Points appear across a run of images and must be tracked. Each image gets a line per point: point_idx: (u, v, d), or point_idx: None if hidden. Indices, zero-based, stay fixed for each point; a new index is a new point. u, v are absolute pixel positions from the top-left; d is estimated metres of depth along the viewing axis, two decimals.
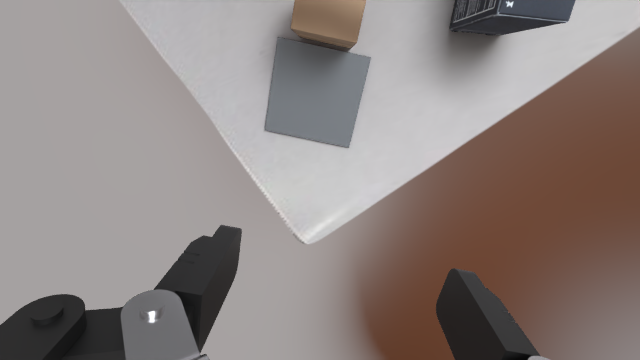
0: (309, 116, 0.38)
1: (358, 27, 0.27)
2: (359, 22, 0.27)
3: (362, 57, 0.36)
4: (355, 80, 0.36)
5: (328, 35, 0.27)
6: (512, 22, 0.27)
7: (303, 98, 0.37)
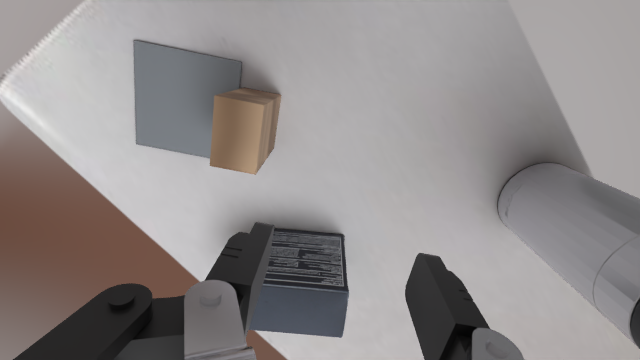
0: (161, 98, 0.33)
1: (224, 167, 0.26)
2: (228, 167, 0.26)
3: None
4: (207, 148, 0.35)
5: (212, 137, 0.25)
6: None
7: (180, 90, 0.33)
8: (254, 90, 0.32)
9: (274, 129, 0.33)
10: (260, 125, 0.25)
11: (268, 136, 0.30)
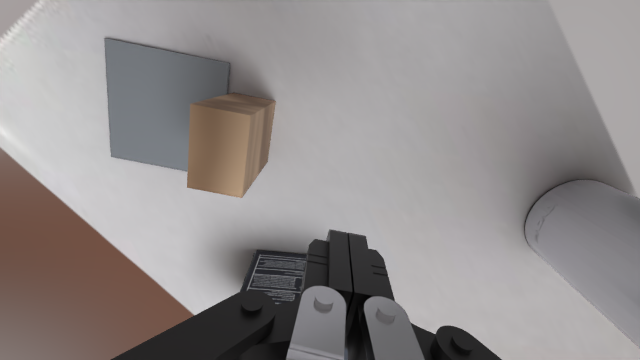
0: (137, 105, 0.29)
1: (204, 188, 0.22)
2: (209, 189, 0.22)
3: None
4: None
5: (189, 153, 0.21)
6: None
7: (159, 96, 0.28)
8: (244, 96, 0.28)
9: (267, 141, 0.28)
10: (246, 139, 0.21)
11: (259, 150, 0.25)
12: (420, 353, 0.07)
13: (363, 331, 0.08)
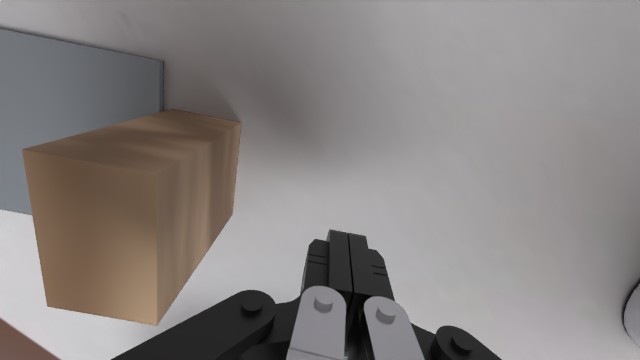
0: (18, 129, 0.18)
1: (81, 309, 0.11)
2: (92, 310, 0.11)
3: None
4: None
5: (40, 247, 0.10)
6: None
7: (51, 115, 0.17)
8: (188, 115, 0.17)
9: (227, 187, 0.17)
10: (153, 222, 0.10)
11: (205, 214, 0.14)
12: (420, 353, 0.07)
13: (363, 331, 0.08)
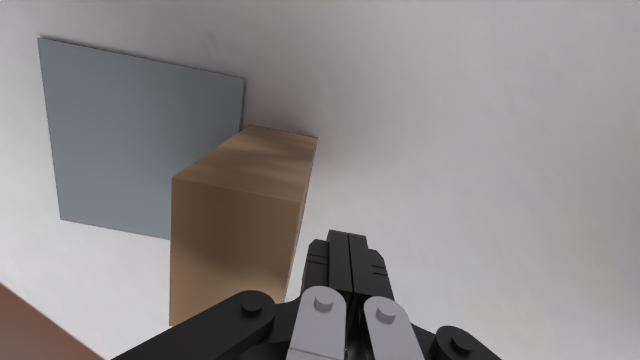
0: (97, 144, 0.18)
1: None
2: None
3: None
4: None
5: (172, 269, 0.10)
6: None
7: (131, 131, 0.18)
8: (268, 131, 0.17)
9: None
10: (289, 247, 0.10)
11: (298, 231, 0.15)
12: (420, 353, 0.07)
13: (363, 331, 0.08)
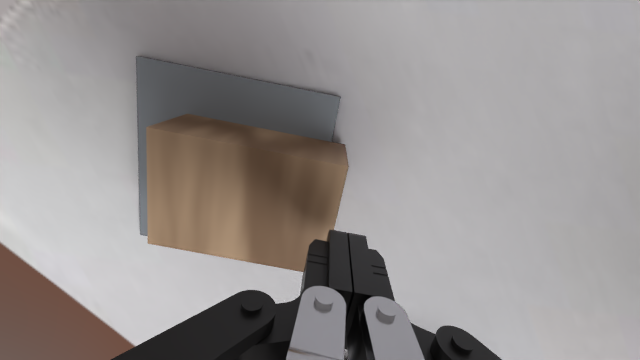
0: None
1: None
2: None
3: None
4: None
5: None
6: None
7: None
8: (331, 147, 0.16)
9: (301, 227, 0.15)
10: (148, 162, 0.14)
11: (235, 216, 0.15)
12: (420, 353, 0.07)
13: (363, 331, 0.08)
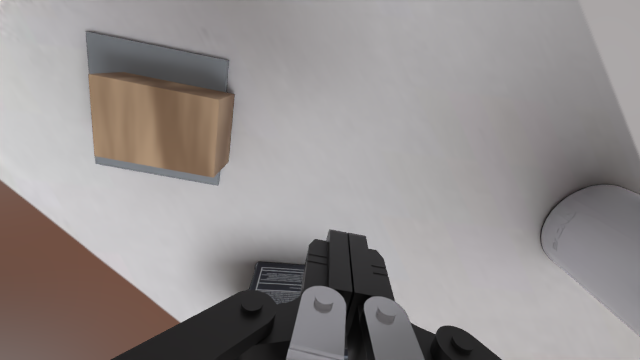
0: None
1: None
2: None
3: (216, 175, 0.28)
4: None
5: None
6: None
7: None
8: (220, 93, 0.24)
9: (194, 142, 0.23)
10: (91, 98, 0.22)
11: (151, 135, 0.23)
12: (420, 353, 0.07)
13: (363, 331, 0.08)
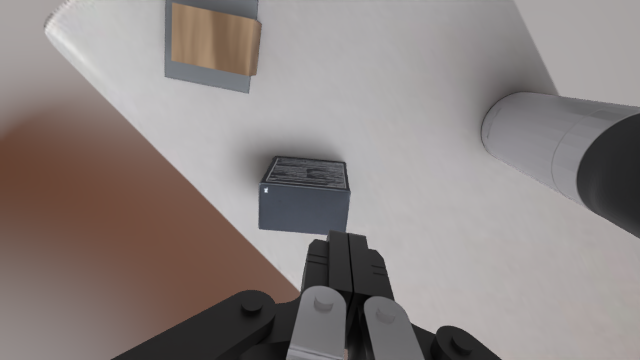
0: None
1: None
2: None
3: (247, 85, 0.40)
4: (227, 80, 0.40)
5: None
6: None
7: None
8: None
9: (237, 50, 0.35)
10: (172, 19, 0.34)
11: (208, 45, 0.35)
12: (420, 353, 0.07)
13: (363, 331, 0.08)
